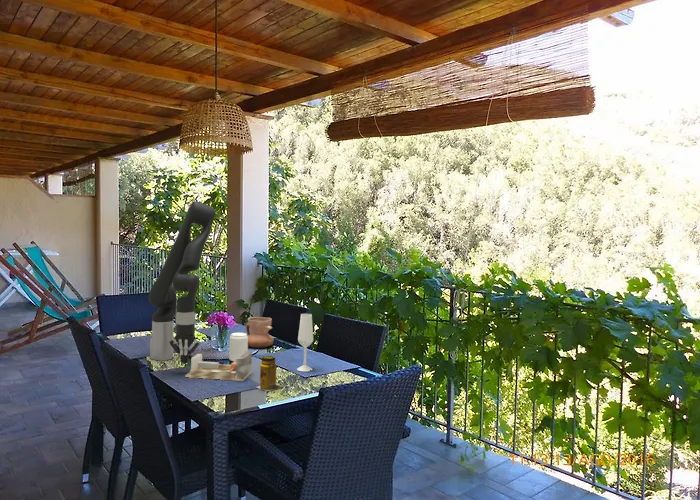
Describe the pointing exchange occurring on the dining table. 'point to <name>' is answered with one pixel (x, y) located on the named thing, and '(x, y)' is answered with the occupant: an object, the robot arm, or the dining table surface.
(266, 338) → the ceramic jug
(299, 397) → the dining table surface
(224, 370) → the frame
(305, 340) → the champagne flute
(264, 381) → the condiment
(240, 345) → the beverage can
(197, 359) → the plunger
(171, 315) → the robot arm
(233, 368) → the orange stepped bar
